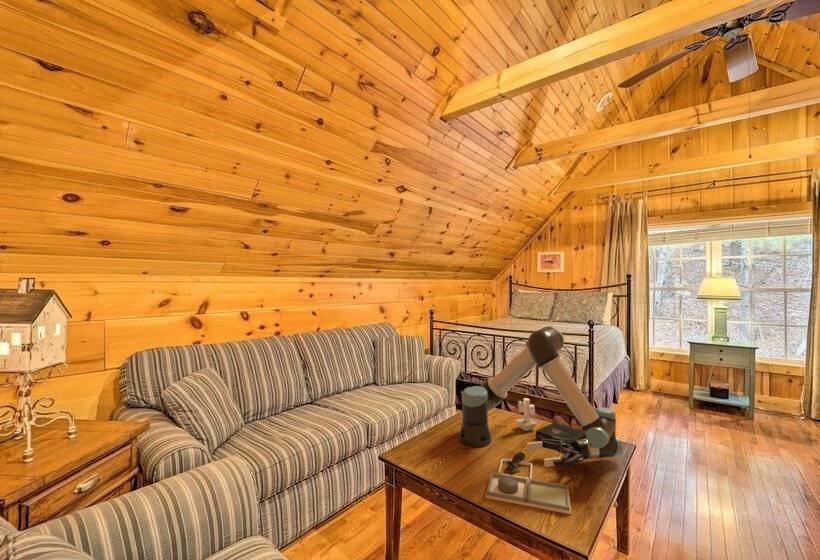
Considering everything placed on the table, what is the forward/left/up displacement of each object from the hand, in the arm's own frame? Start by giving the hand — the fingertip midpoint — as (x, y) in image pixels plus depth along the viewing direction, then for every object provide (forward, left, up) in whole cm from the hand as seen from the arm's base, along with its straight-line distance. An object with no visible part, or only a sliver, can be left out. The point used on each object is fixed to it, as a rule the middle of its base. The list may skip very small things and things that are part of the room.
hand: (535, 454), depth 151 cm
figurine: (-5, +38, -6) cm, 39 cm away
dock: (-2, -19, -6) cm, 20 cm away
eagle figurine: (-8, -3, -6) cm, 10 cm away
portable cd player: (+11, +31, -7) cm, 34 cm away
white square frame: (-7, -4, -6) cm, 10 cm away
